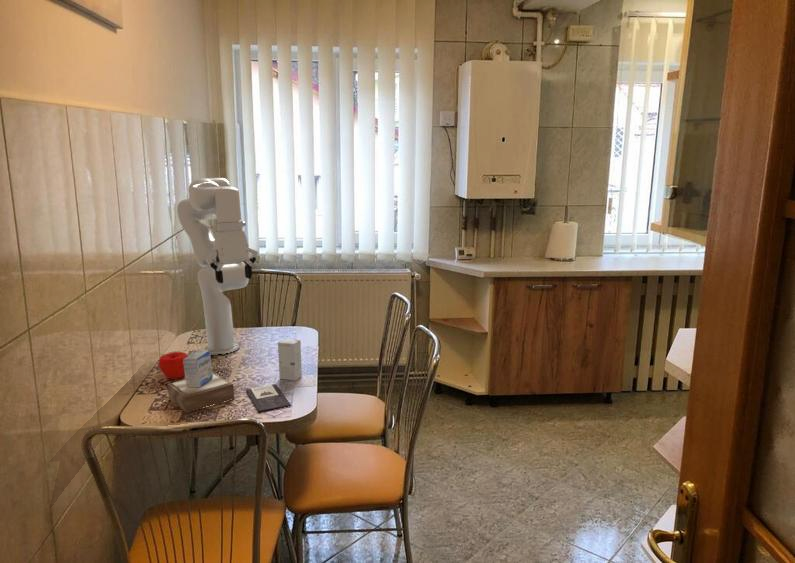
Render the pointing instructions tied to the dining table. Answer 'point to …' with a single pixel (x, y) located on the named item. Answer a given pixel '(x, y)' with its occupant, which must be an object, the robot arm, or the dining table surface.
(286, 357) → the skincare box
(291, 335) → the dining table surface
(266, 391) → the chocolate bar
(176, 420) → the dining table surface
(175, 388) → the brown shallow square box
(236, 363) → the dining table surface
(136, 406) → the dining table surface
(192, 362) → the medicine box
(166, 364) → the apple
